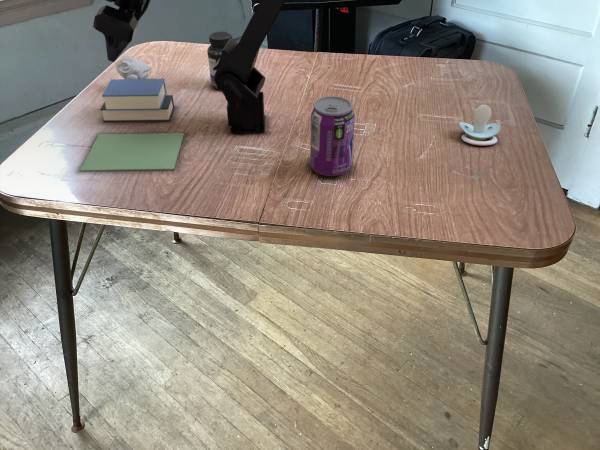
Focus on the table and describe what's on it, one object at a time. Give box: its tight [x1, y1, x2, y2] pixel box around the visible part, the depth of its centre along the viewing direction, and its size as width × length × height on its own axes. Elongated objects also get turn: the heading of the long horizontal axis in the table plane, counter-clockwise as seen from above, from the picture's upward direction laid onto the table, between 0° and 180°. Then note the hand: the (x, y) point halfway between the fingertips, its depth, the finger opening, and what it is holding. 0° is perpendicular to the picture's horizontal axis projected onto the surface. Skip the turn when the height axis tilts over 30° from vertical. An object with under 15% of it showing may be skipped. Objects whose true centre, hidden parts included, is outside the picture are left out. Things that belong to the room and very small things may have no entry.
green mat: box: [80, 132, 185, 172], centre depth 98 cm, size 16×12×1 cm
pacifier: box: [459, 104, 501, 146], centre depth 99 cm, size 7×6×6 cm
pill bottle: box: [206, 30, 233, 91], centre depth 115 cm, size 6×6×11 cm
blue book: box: [101, 78, 168, 111], centre depth 106 cm, size 10×7×3 cm, turn 91°
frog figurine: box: [114, 55, 151, 79], centre depth 116 cm, size 6×7×7 cm
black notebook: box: [99, 94, 175, 123], centre depth 108 cm, size 13×6×3 cm, turn 91°
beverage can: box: [309, 95, 356, 177], centre depth 90 cm, size 7×7×12 cm
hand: (117, 49), depth 99 cm, fingers open, 9 cm apart
